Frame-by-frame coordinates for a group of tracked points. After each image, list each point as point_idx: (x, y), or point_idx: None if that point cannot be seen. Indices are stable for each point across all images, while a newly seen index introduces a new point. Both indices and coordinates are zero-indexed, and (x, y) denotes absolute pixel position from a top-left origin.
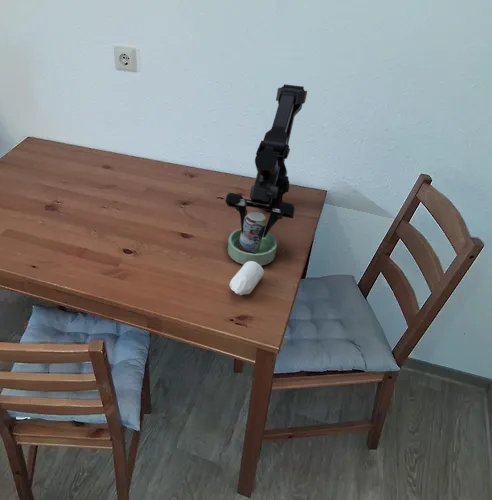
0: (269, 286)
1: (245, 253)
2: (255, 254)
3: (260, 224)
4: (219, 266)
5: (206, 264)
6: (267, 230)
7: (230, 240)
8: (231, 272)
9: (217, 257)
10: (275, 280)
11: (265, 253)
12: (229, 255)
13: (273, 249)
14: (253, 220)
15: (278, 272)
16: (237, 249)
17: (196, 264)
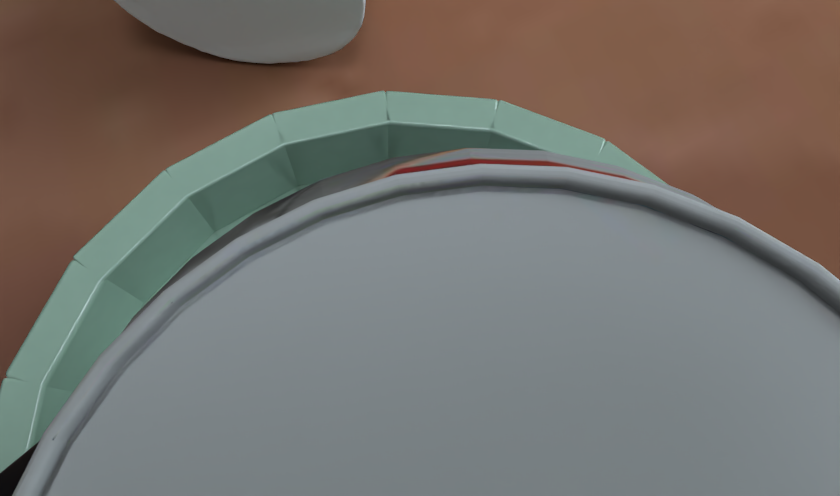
0: (60, 12)
1: (404, 98)
2: (260, 133)
3: (169, 286)
4: (626, 83)
5: (751, 58)
6: (12, 469)
7: None
8: (478, 49)
9: (720, 209)
10: (15, 118)
11: (120, 222)
12: None
13: (10, 387)
14: (499, 185)
15: (2, 259)
16: (545, 134)
17: (831, 20)
